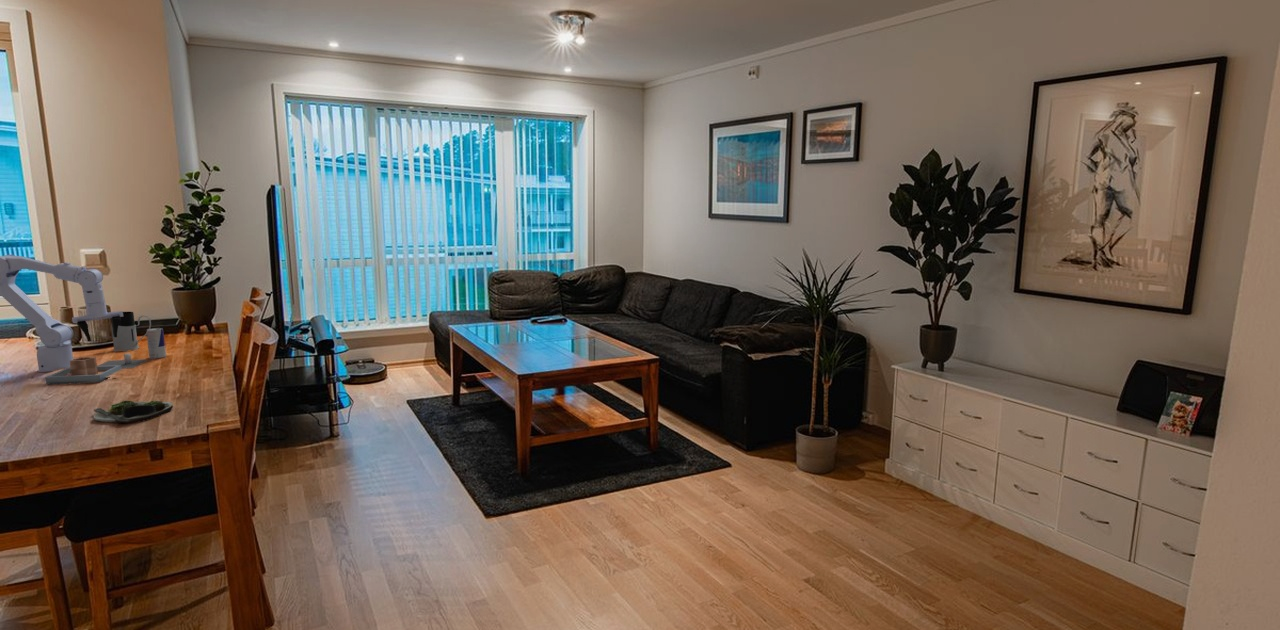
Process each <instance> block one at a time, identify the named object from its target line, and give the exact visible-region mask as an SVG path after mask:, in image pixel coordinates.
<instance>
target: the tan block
mask: <svg viewBox="0 0 1280 630" xmlns="http://www.w3.org/2000/svg"><path fill="white" fill-rule="evenodd" d="M97 364H98V363H97V357H95V356H94V357H93V356H91V357H90V356H89V357H88V356H86V357H85V356H81V357H77V358H75V359H74V358H73V360H70V367H71V373H70V375H71V376H75V375H98V374H99V371H98V370H97V366H98V365H97Z"/></svg>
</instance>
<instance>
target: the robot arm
mask: <svg viewBox="0 0 1280 630" xmlns="http://www.w3.org/2000/svg"><path fill="white" fill-rule="evenodd" d="M21 270H30V271H35V272H41V273H45V274H51V275H53V276H54V277H55V278H56V279H57V280H63V281H67V282H72V283H77V284H79V285H80V286H81V289H82V295H83V299H84V304H85V308H86V315H79V316H75V317H74V316H73V317H71V320H72V323H73V324H76V325H77V326H78V327H79V329H80V330H81V331H82V332H83V334H84V335H85V337H86V340H87V342H88V343H89V342H92V338H91V336H90V331H89V324H88V323H87V322H91V321H98V320H105V319H106V320H107V319H109V320H110V325H112V327H111V330H112V329H113V335H112V337H113V336H114V337H117V330H118V326H119V323H120V320H121V318H120V317H123V312H124V311H122V310H118V311H110V312H108V309H107V304H106V301H105V295H104V288H103V285H102V282H103V279H104V275H103V273H102V271H100V270H99V269H96V268H88V269H87V267H86V266H76V265H72V264H71V263H70V262H67V261H66V262H64V263H62V262H59V264H53V263H48V262H44V261H41V260H37V259H33V258H30V257H26V256H22V255H15V254H6V255H2V256H0V296H1V297H2V298H3V299H4V300H5V301H7V303H8V304H9V305H10V306H12V307H13V308H14V309H15V310H16V311H18V312H19V313H20V314H21V315H22V316H23V318H25V319H26V320H27V321H28V322H30V323H31V325H33V326H34V327H35V333H36V334H37V335H38V337H39V339H40V342H41V343H42V344H43V345H40V346H39V347H38V348H37V350H36V359H37V360H36V361H37V366H38V367H37V368H38V370H37V373H42V372H43V373H46V372H55V371H57V370H59V369H62V370H63V369H66V368H69V367H70V360H73V359H74V356H73V347H72V340H71V339H72V338H73V337H74V331H73V329H72V328H71V326H70V325H66V324H63V322H61V321H60V320H58V319H55V318H53V317H51V316H50V315H49V314H48V313H47V312H46V311H44V310H43V308H41V306H39V305H38V304H37V303H36V302H35V301H34V300H33V299H32V298H30V297H29V296H28V295H27V294H26V293H25V292H24V291H23V290H22V289H21V288H20V287H19V286H18V285H16V283H15V282H16V277H17V276H18V274H19V273H20V271H21Z"/></svg>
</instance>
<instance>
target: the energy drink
mask: <svg viewBox="0 0 1280 630" xmlns="http://www.w3.org/2000/svg"><path fill="white" fill-rule="evenodd" d="M146 333H147V335H146V340H147V348H148V350H147V351H148V357H149V358H148V359H151V360H159V359H164V358H166V357H167V352H166V343H165V334H164V329H163V327H152V328H150V329H149V328H147V329H146ZM146 333H145V334H146Z"/></svg>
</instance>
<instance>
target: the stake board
mask: <svg viewBox="0 0 1280 630" xmlns="http://www.w3.org/2000/svg"><path fill="white" fill-rule="evenodd" d="M150 360H152V359H150V358H143V359H132V355H131V353H125V354H123V359H117V360H116V359H115V360H107V361H105V362H103V363H101V364H98V365H97V366H113V365H121V367H122V370H126V369H128V370H129V369H134V368H136V367H138V366H141V365H143V364H144V363H147V362H148V361H150Z"/></svg>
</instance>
